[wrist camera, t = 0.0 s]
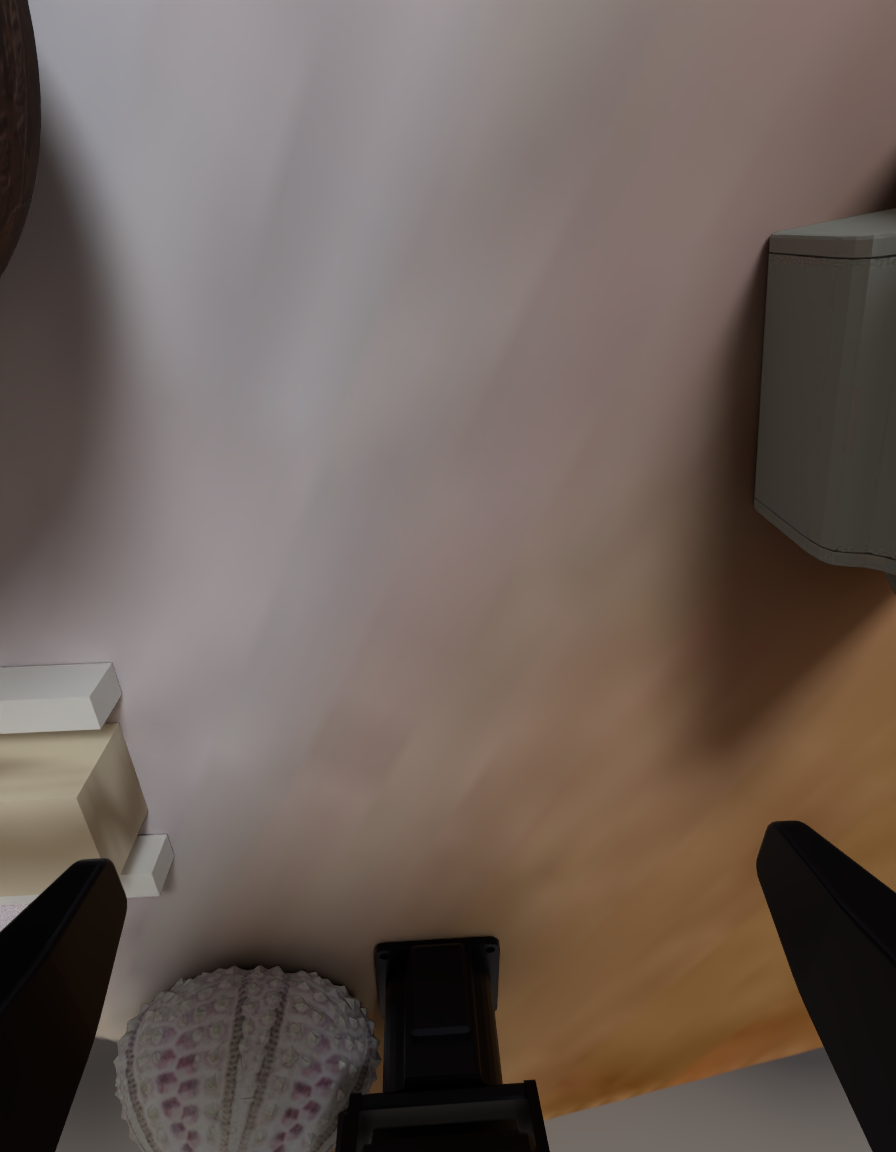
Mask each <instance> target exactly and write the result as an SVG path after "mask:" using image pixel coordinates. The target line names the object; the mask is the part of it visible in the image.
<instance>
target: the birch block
mask: <svg viewBox="0 0 896 1152" xmlns="http://www.w3.org/2000/svg"><path fill="white" fill-rule="evenodd" d="M147 812H148V808H147V805H146V802H145V799H144V796H143V793H142V790H141V787H140V784H139V781H138V778H137V775H136V772H135V769H134V766H133V763H132V760H131V757H130V754H129V751H128V748H127V745H126V742H125V739H124V736H123V733H122V730H121V727H120V724H119V723H113V724H104V725H103V726H102V728H101V729H95V730H74V731H52V732H30V733H8V734H0V897H5V896H22V895H39V894H41V893H42V892H43V891H44V890H45V889H46V888H47V887H48V886H49V885H50V884H52V883H53V882H54V881H55V880H56V879H57V878H58V877H59V876H60V875H61V874H62V873H63V872H64V871H65V870H66V869H67V868H69V867H70V866H71V865H72V864H73V863H75V862H77V861H79V860H82V859H94V858H108V859H110V860H111V861H112V862H113V863H114V865H115V868H116V871H117V873H118V876H120V874H121V872H122V869H123V867H124V865H125V863H126V860H127V858H128V856H129V853H130V851H131V849H132V847H133V844H134V842H135V840H136V837H137V835H138V833H139V831H140V828H141V826H142V824H143V822H144V819H145V817H146V815H147Z"/></svg>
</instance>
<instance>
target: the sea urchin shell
mask: <svg viewBox="0 0 896 1152" xmlns="http://www.w3.org/2000/svg"><path fill="white" fill-rule="evenodd" d="M374 1024H375V1023H374V1022H373V1021H371V1020H370V1019H368V1018H367V1014H366V1008H360V1001H359V1000H358V999H356V998H353V997H350V996H349V994H348V992H347V990H346V988H345V986H337V985H333V984H332V983H331V982H330V980H329V979H321V977H319V976H318V975H317V972H312V973H306V972H305V971H302V970H301V971H298V972H296V973H284V972H283V971H282V969H281V968H280V967H279V966H276V967H273V968H271V969H266V968H265V967H263V966H260V965H259V966H257V967H256V968H255V969H253V970H248V971H247V970H243V969H240V968H238V967H237V966H233V967H230V968H228V969H217V970H215V971H214V972H212V973H205V972H203V973H202V974H201V975H198V976H197V977H196V978H195V979H188V980H184V979H182V978H181V979H180V980H179V981H177V982H176V984H175V985H174V986H173V987H172V988H171V990H170V991H163V992H160V993H159V994H158V995H157V996H156V997H155V999H154V1000H153V1001H152V1002H151V1003H150V1004H142V1006H141V1009H140V1013H139V1015H138V1016H137V1017H135V1018H133V1019H131V1020H129V1022H127V1032H126V1033H125V1035H124V1036H123V1037H122V1038H121V1039H120V1040H119V1041H117V1044H118V1057H117V1058H116V1060H115V1061H114V1064H115V1066H116V1073H117V1075H118V1076H117V1079H116V1082H117V1083H116V1085H115V1086H116V1087H117V1091H116V1093H115V1095H116V1096H117V1097H118V1098H119V1099H120V1102H121V1103H122V1106H123V1110H122V1114H121V1118H122V1119H124V1120H125V1121H127V1123H128V1125H129V1127H130V1139H131V1140H132V1141H134V1142H136V1143H137V1145H138V1147H139V1149H140V1150H141V1152H333V1149H334V1148H335V1147H336V1137H337V1124H338V1113H340V1112H342V1111H343V1110H345V1109H347V1108H348V1106H349V1097H350V1093H354V1092H362V1094H370V1093H369V1089H370V1087H371V1085H372V1083H373V1082H374V1081H375V1080H376V1079H377V1076H376V1072H375V1070H376V1068H377V1066H378V1065H379V1063H380V1062H381V1061H382V1060H381V1058H380V1056H379V1054H378V1052H377V1049H378V1046H379V1043H380V1041H379V1040H378V1039H377V1038H376V1037H375V1036H374V1034H373V1033H374Z"/></svg>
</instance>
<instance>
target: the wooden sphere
mask: <svg viewBox="0 0 896 1152" xmlns="http://www.w3.org/2000/svg"><path fill="white" fill-rule="evenodd" d="M40 129H41V98H40V83H39V69H38V60H37V52H36V45H35V38H34V31H33V25H32V20H31V15H30V10H29V5H28V0H0V277H1V275H2V273H3V272H4V270H5V268H6V266H7V265H8V262H9V260H10V258H11V256H12V254H13V252H14V249H15V247H16V245H17V243H18V240H19V237H20V234H21V232H22V229H23V226H24V224H25V220H26V217H27V213H28V210H29V206H30V203H31V199H32V194H33V189H34V184H35V179H36V172H37V165H38V157H39V147H40Z"/></svg>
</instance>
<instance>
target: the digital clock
mask: <svg viewBox="0 0 896 1152" xmlns="http://www.w3.org/2000/svg"><path fill="white" fill-rule="evenodd" d="M769 252H770V253H769V261H768V278H767V295H766V312H765V328H764V345H763V362H762V379H761V396H760V413H759V430H758V447H757V464H756V480H755V498H754V508H755V510H756V511H757V512H758V513H760V514H761V515H762V516H763V517H764V518H766V519H767V520H768V521H769V522H770V523H772V524H773V525H774V526H775V527H776V528H778V529H779V530H780V531H781V532H783V533H784V534H785V535H786V536H787V537H789V538H790V539H791V540H792V541H793V542H795V543H796V544H797V545H798V546H800V547H801V548H802V549H803V550H804V551H806V552H807V553H809V554H810V555H812V556H814V557H815V558H817V559H818V560H820V561H823V562H826V563H828V564H831V565H838V566H847V567H864V568H869V569H874V570H879V571H883V572H884V573H885V575H886V577H887V579H888V581H889V583H890V585H891V587H892V589H893V591H894V593H895V595H896V208H893V209H888V210H883V211H878V212H873V213H868V214H863V215H858V216H853V217H848V218H843V219H838V220H833V221H828V222H823V223H818V224H813V225H808V226H803V227H798V228H792V229H787V230H783V231H778V232H775V233H773V234H771V236H770V244H769Z"/></svg>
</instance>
